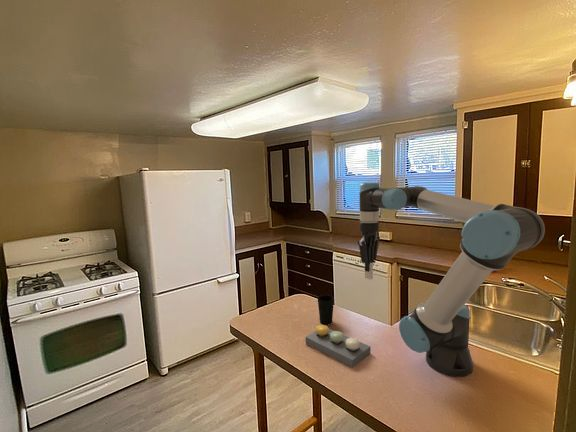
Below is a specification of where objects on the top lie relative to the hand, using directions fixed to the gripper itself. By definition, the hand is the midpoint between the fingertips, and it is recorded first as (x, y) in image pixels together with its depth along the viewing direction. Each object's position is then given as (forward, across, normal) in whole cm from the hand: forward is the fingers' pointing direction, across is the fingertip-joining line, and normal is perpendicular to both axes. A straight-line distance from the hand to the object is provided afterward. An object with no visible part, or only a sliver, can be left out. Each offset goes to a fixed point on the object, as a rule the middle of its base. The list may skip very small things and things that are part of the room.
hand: (368, 278), depth 126 cm
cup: (+27, +1, -22) cm, 35 cm away
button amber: (+25, +15, -13) cm, 31 cm away
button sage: (+25, +15, -5) cm, 29 cm away
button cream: (+25, +15, +2) cm, 29 cm away
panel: (+26, +15, -5) cm, 31 cm away
